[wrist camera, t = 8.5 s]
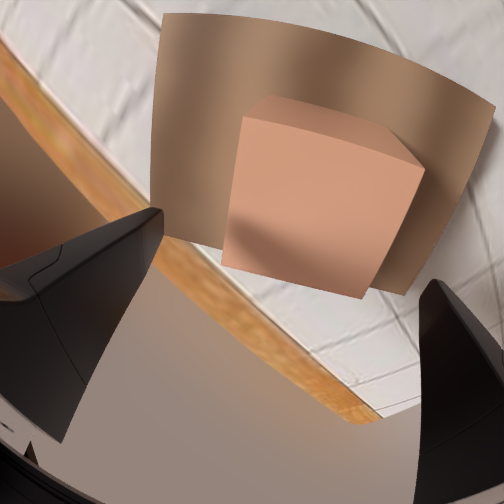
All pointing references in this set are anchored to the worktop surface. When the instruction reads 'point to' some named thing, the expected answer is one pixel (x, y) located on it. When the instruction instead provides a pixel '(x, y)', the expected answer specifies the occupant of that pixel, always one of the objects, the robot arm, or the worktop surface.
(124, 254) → the robot arm
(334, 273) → the terracotta cube
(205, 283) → the worktop surface
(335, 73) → the walnut block
